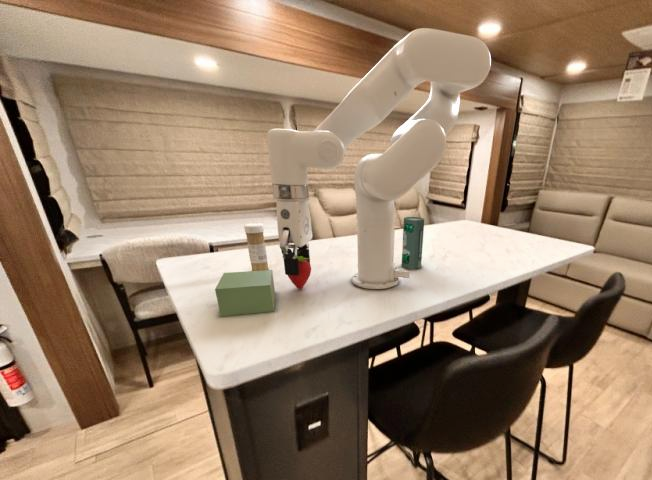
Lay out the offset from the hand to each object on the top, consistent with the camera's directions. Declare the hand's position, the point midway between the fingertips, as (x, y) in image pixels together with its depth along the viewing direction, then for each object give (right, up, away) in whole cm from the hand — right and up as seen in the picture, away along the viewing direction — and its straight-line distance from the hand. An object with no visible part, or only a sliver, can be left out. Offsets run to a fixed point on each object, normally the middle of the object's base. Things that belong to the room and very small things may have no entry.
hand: (298, 268), depth 75 cm
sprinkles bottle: (-15, 0, +12) cm, 19 cm away
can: (+28, +3, +23) cm, 37 cm away
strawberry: (0, -5, +2) cm, 6 cm away
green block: (-8, -9, -7) cm, 14 cm away
